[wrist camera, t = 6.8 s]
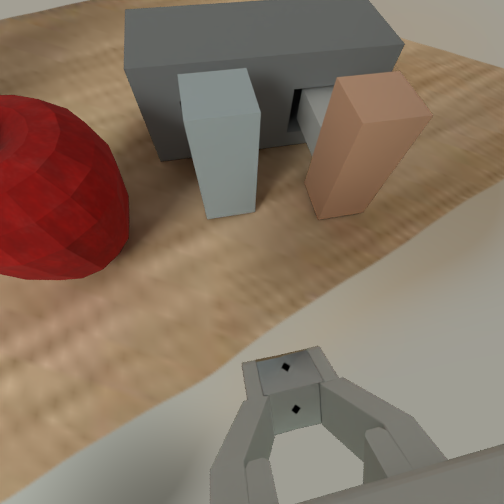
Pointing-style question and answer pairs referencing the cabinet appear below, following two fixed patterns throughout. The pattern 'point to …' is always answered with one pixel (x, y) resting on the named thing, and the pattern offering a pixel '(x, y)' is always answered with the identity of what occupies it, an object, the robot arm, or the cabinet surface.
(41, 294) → the cabinet surface
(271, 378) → the robot arm
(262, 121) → the socket block
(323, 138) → the terracotta plug
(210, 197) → the slate plug
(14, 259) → the apple
